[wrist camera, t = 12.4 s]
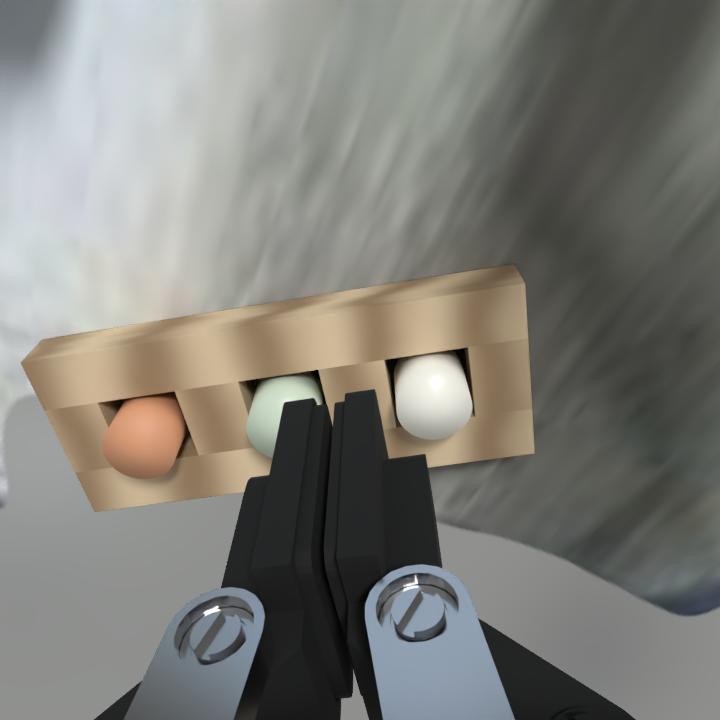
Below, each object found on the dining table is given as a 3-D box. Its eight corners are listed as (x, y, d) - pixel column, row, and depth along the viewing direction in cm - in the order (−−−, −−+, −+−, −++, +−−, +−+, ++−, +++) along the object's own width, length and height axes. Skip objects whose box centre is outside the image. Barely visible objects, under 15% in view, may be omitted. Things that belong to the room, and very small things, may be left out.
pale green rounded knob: (316, 360, 41) (311, 394, 37) (330, 417, 43) (327, 454, 39) (248, 370, 41) (237, 404, 38) (265, 426, 43) (256, 464, 40)
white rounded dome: (459, 338, 40) (468, 371, 36) (466, 397, 42) (475, 434, 39) (388, 349, 40) (391, 382, 37) (399, 407, 42) (402, 444, 39)
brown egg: (178, 380, 42) (161, 416, 38) (199, 436, 44) (184, 474, 40) (113, 390, 42) (90, 426, 38) (136, 444, 44) (117, 483, 41)
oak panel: (514, 263, 39) (525, 283, 36) (524, 426, 45) (534, 453, 42) (42, 339, 42) (20, 362, 39) (109, 483, 47) (94, 512, 45)
